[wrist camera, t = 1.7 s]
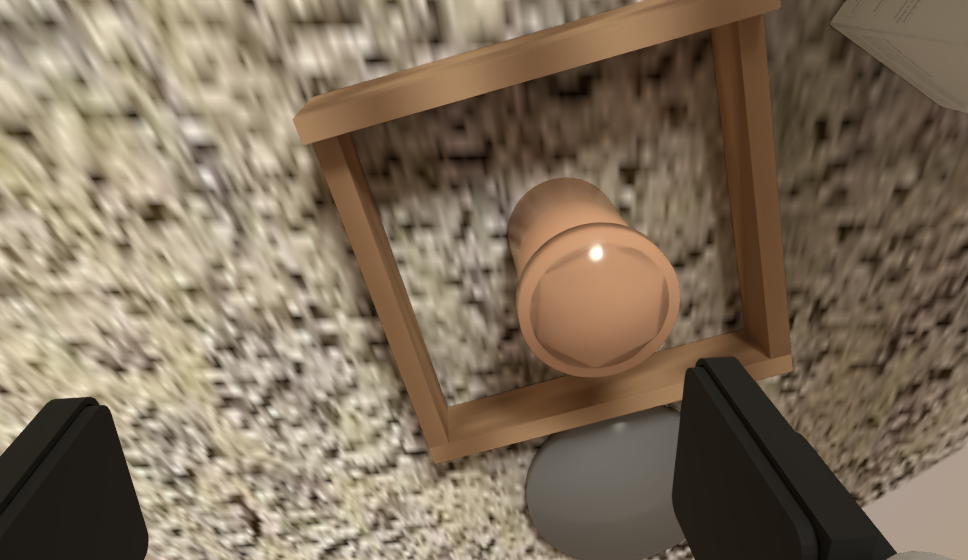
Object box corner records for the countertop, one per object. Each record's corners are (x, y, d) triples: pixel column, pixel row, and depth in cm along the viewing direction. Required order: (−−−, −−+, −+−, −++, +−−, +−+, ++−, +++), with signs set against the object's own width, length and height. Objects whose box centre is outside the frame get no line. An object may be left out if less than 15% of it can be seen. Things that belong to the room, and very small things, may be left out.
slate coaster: (703, 380, 37) (708, 388, 36) (725, 527, 41) (730, 537, 40) (504, 431, 37) (506, 441, 36) (548, 571, 42) (550, 581, 41)
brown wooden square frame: (728, -24, 28) (779, -22, 24) (765, 339, 36) (808, 388, 32) (312, 96, 29) (292, 119, 25) (434, 426, 37) (435, 484, 33)
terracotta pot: (612, 153, 31) (667, 212, 24) (634, 269, 34) (690, 354, 26) (485, 189, 31) (501, 258, 24) (516, 301, 34) (539, 394, 27)
